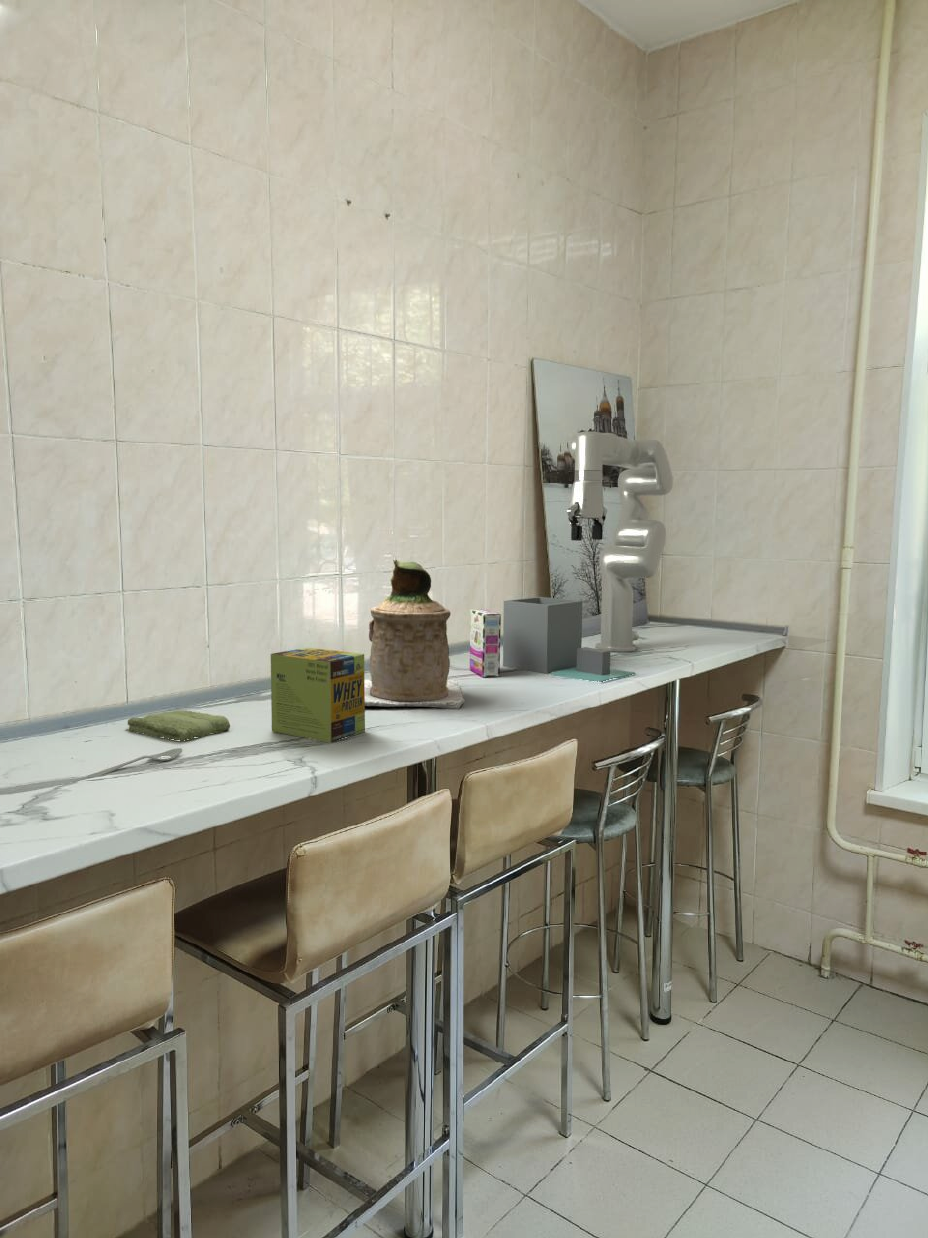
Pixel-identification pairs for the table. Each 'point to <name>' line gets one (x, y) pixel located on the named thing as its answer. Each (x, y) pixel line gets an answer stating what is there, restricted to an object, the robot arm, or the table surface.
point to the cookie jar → (410, 646)
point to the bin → (541, 634)
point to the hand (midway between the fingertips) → (586, 539)
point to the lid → (592, 666)
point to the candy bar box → (485, 643)
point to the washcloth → (179, 724)
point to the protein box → (318, 693)
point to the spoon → (171, 753)
